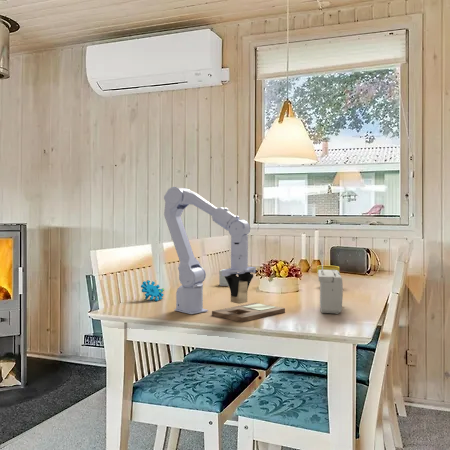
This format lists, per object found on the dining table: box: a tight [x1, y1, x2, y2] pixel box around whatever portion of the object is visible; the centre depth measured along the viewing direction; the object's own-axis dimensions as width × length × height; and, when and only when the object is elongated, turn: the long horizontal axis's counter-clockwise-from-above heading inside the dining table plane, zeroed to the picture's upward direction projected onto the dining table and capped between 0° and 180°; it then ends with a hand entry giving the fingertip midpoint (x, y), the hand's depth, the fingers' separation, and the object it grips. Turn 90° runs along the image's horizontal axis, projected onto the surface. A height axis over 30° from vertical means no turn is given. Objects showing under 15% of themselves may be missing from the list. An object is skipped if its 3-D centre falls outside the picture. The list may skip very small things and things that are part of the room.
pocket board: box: [211, 302, 286, 323], centre depth 168 cm, size 14×22×2 cm, turn 134°
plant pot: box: [316, 264, 340, 283], centre depth 226 cm, size 10×10×10 cm
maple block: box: [230, 281, 249, 305], centre depth 165 cm, size 4×4×7 cm
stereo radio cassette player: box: [317, 251, 344, 315], centre depth 178 cm, size 21×8×20 cm, turn 170°
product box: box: [218, 268, 229, 287], centre depth 231 cm, size 6×6×7 cm
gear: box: [140, 280, 165, 302], centre depth 194 cm, size 11×6×10 cm
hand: (239, 295), depth 165 cm, fingers closed on maple block, 4 cm apart
